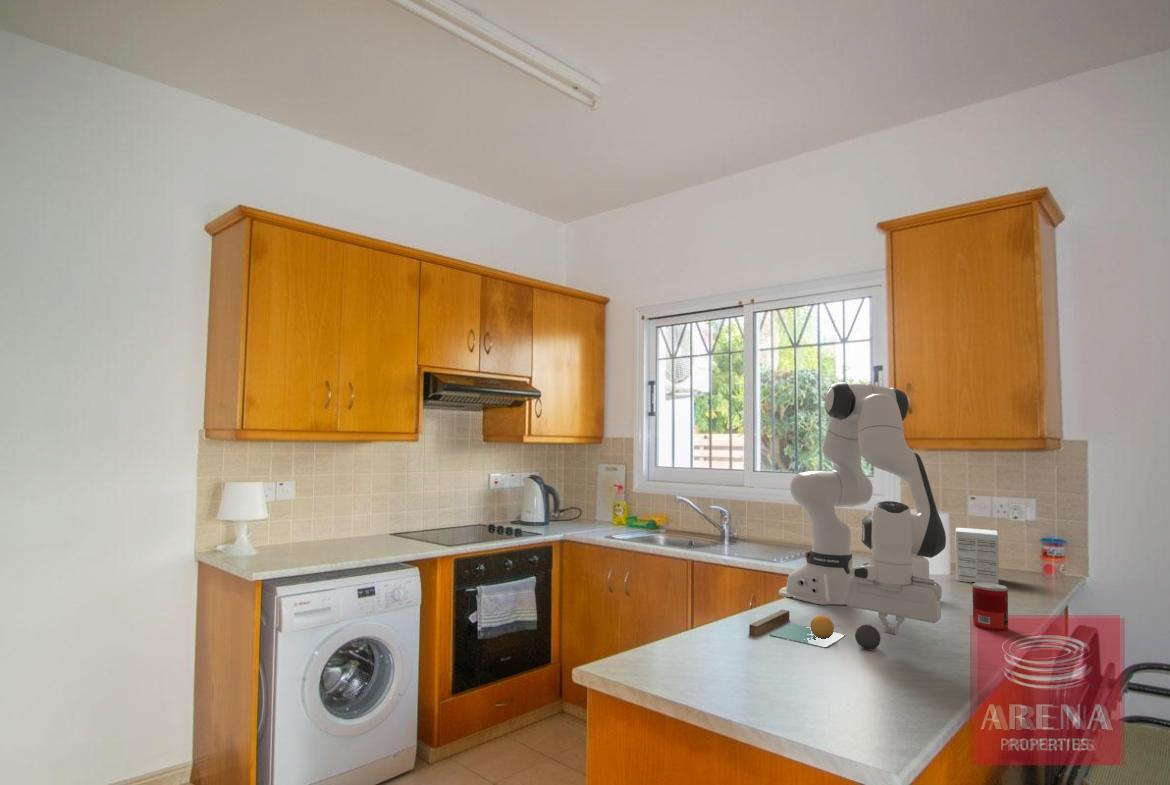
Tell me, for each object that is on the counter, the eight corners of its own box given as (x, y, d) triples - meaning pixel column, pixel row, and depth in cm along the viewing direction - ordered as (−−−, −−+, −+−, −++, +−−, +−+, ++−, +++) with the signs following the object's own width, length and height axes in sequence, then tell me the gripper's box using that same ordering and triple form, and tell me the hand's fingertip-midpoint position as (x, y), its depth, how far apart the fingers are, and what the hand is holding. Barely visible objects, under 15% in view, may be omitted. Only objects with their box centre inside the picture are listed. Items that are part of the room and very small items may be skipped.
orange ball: (832, 637, 159) (812, 643, 162) (841, 633, 163) (821, 638, 166) (823, 614, 161) (803, 620, 164) (831, 610, 165) (812, 616, 168)
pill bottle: (927, 594, 213) (926, 547, 214) (931, 600, 206) (930, 551, 207) (899, 592, 216) (899, 545, 217) (903, 597, 208) (902, 549, 209)
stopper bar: (749, 634, 165) (749, 624, 165) (782, 618, 180) (782, 609, 181) (756, 636, 164) (756, 626, 164) (789, 620, 179) (789, 610, 179)
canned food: (1013, 632, 173) (1012, 589, 173) (979, 630, 174) (978, 587, 175) (1001, 624, 180) (1000, 583, 181) (968, 622, 182) (968, 581, 182)
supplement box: (956, 574, 247) (955, 526, 248) (998, 579, 241) (997, 530, 242) (955, 580, 236) (954, 530, 237) (999, 586, 229) (998, 534, 230)
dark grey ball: (882, 641, 152) (869, 658, 154) (887, 632, 156) (874, 649, 158) (861, 624, 154) (848, 641, 156) (866, 616, 159) (853, 633, 161)
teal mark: (769, 635, 165) (769, 634, 165) (792, 624, 176) (792, 623, 176) (826, 648, 156) (826, 647, 156) (846, 635, 167) (846, 634, 167)
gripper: (944, 578, 150) (944, 641, 150) (851, 564, 163) (851, 621, 163) (938, 583, 145) (938, 647, 145) (843, 568, 159) (842, 627, 158)
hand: (891, 633), depth 154 cm, fingers closed
